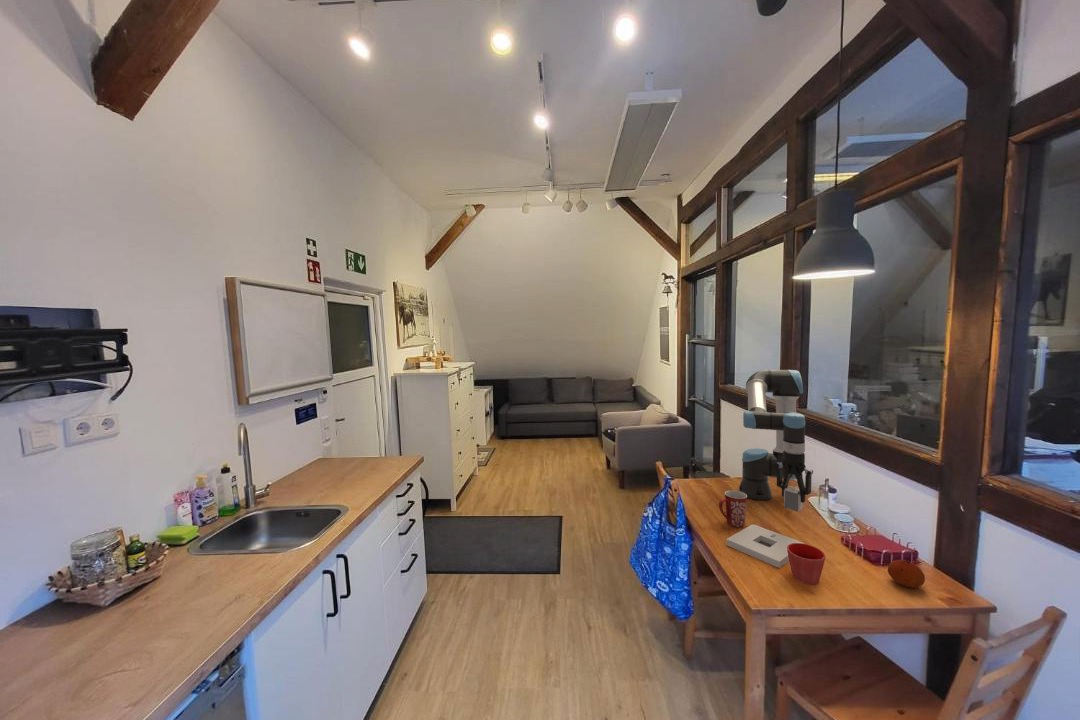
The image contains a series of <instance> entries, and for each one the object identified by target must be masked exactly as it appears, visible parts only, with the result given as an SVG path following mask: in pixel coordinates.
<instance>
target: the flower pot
mask: <svg viewBox="0 0 1080 720" xmlns="http://www.w3.org/2000/svg"><path fill="white" fill-rule="evenodd" d="M803 543H804V542H802V543H792V544H789V545H788V546H787V552H788V557H789V562H788V563H789V566H790V571H791V575H792V577H793V578H794V579H795V580H796V581H798V582H800V583H802V584H805V585H810V586H811V585H812V586H813V585H817V584H819V583H820V580H821V575H822V573H823V569H824V565H825V563H826V562H825V561H826V554H825V552H823V551H822V550H821V549H819V548H818V547H816V546H813V545H810V544H807V543H805V544H803Z"/></svg>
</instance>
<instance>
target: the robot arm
mask: <svg viewBox="0 0 1080 720" xmlns="http://www.w3.org/2000/svg"><path fill="white" fill-rule="evenodd" d="M803 385H804V384H803V380H802V376H801V372H800V371H798V370H796V369H794V370H793V369H760V370H759V371H756V372H754V373H753V374H751V375H750V376H749V378H748V379H747V380H746V382H745V390H746V392H747V411H746V410H745V411H743V415H742V416H743V417H742V419H743V421H742V423H743V424H742V425H743V427H744V428H745V429H752V430H757V429H758V430H770V431H775V432H776V434H775V436H776V437H775V438H776V439H775V441H776V442H775V444H776V447H774V448H773V449H772V452H771V453H769V450H767V449H764V448H750V449H745V450H743V452H742V458H741V461H742V473H741V474H742V476H741V477H742V479H741V482H740V484H739V486H738V491H740V492H743V493H745V494H746V495H747V499H750V500H754V501H767V500H770V499H772V497H773V492H772V489H771V486H770V483H769V477H771V478H776V487H778V488H781V496H782V497H783V506H784V507H785V488H787V487H789V486H788V485H789V483H790V480H796V482H797V485H798V487H797V488H799V491H800V493H799V494H798V511H801V510H803V509H804V504H805V502H806V496H809V495H810V494H811V493H812V475H813V474H814V470H813V469H808V468H807V467H806V464H805V463H806V462H805V461H806V453H805V451H806V443H805V442H806V441H805V439H806V417H805V414H801V413H799V412H797V401H798V399H799V398H800V396H801V395H800V394H803V393H804V386H803ZM766 393H768V394H769V393H772V397H773V398H774V399H775V412H772V411H771V412H768V411H767V395H766ZM803 473H804V474H805V479H803V478H804V477H803ZM804 481H805V482H804Z"/></svg>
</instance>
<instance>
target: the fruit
mask: <svg viewBox="0 0 1080 720" xmlns="http://www.w3.org/2000/svg"><path fill="white" fill-rule="evenodd" d="M887 573H888V575H889V576H890V577H891V579H893V580H894V581H895V582H896V583H898V584H900V585H901V586H903V587H906V588H910V589H911V588H913V589H914V588H919V587H922V586H924V584H925V582H926V578H925V576H926V575H925V573H924V572H923V570H922V569H921V568H920V567H919V566H918V565H916V564H915V563H913V562H912V561H909V560H906V559H895V560H892V561H891V562H890V563H889V564H888V566H887Z"/></svg>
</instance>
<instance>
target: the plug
mask: <svg viewBox="0 0 1080 720" xmlns="http://www.w3.org/2000/svg"><path fill="white" fill-rule="evenodd" d="M799 493H800V491H799V487H796V486H792V485H789V486H787V488H785V506H784V508H785V509H788V510H791V511H795V512H798V511H799V510H798V494H799Z"/></svg>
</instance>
